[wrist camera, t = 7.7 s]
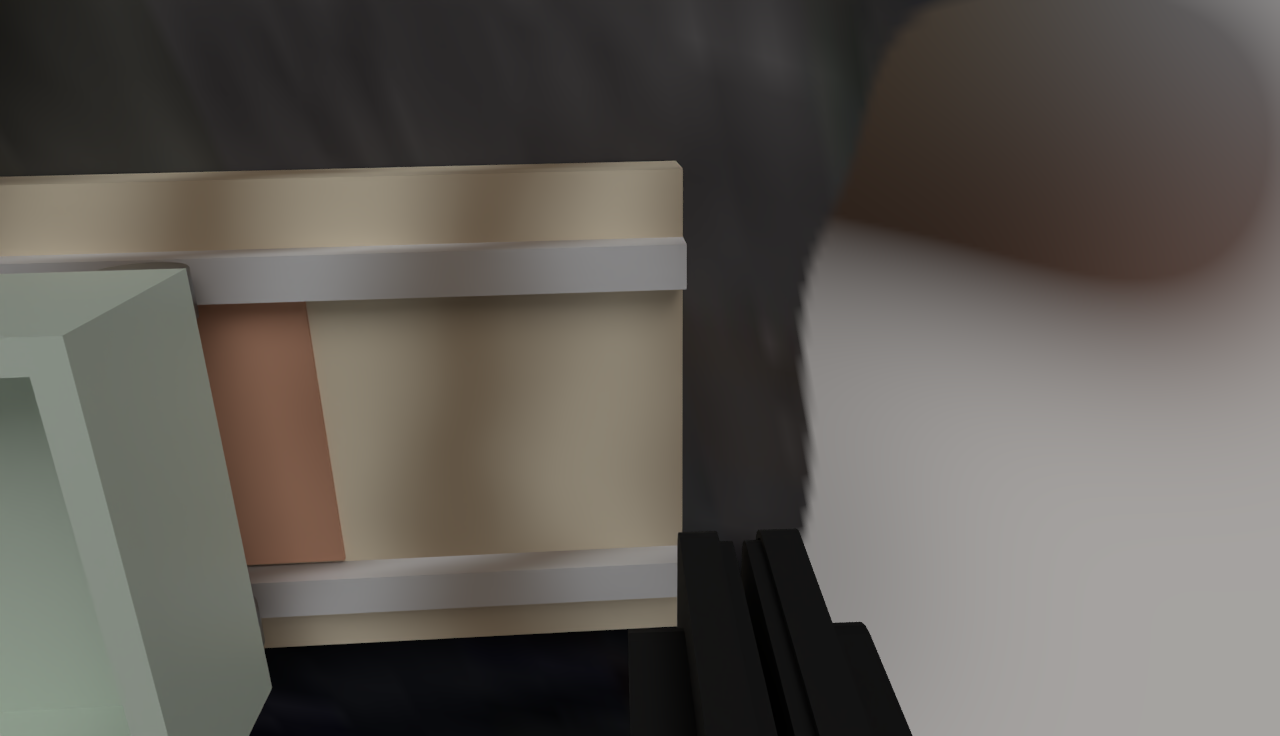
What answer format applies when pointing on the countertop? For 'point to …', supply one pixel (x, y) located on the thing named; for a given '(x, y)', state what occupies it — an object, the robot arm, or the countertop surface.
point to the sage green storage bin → (118, 516)
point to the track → (421, 381)
